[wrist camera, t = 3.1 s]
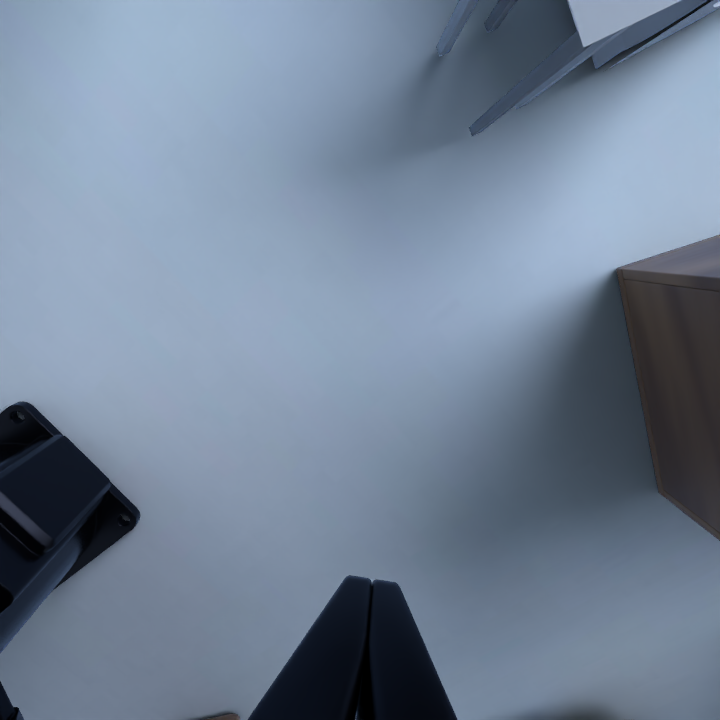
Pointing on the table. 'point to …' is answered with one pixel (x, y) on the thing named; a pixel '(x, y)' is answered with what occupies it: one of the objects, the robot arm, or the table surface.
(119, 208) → the table surface
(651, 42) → the white angular piece
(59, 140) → the table surface
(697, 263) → the wooden drawer cabinet
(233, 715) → the wooden block
